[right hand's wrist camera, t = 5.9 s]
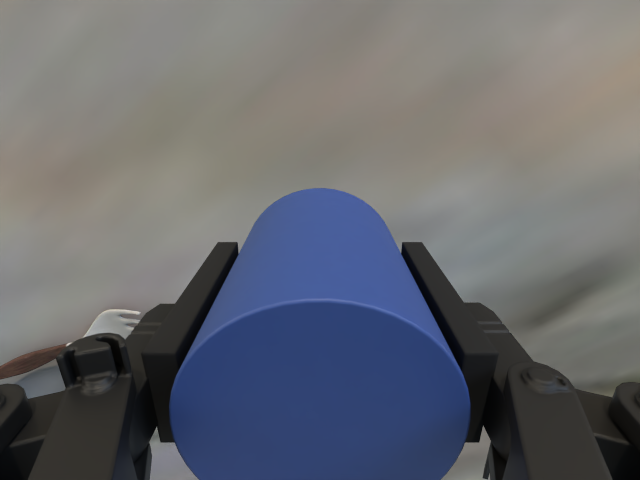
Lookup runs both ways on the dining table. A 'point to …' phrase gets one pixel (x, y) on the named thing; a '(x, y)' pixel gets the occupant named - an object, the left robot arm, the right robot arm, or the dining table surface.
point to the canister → (319, 358)
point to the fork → (103, 324)
